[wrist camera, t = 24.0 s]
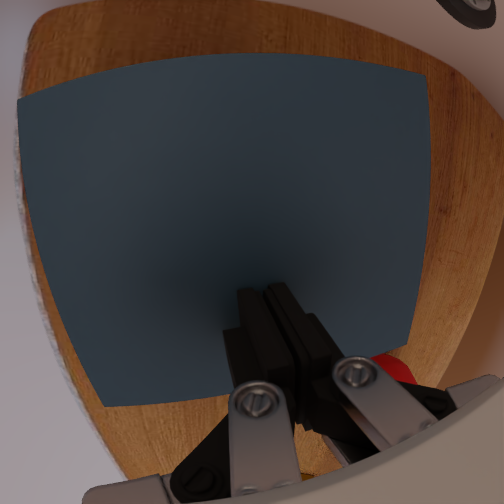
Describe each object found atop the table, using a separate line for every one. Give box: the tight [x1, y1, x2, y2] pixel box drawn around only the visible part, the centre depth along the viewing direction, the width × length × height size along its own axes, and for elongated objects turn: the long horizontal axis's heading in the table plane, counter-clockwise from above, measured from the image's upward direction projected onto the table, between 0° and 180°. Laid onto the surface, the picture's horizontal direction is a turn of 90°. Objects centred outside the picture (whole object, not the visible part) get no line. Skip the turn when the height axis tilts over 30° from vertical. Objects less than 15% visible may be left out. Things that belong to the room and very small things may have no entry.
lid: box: [17, 53, 431, 407], centre depth 10 cm, size 13×15×1 cm
